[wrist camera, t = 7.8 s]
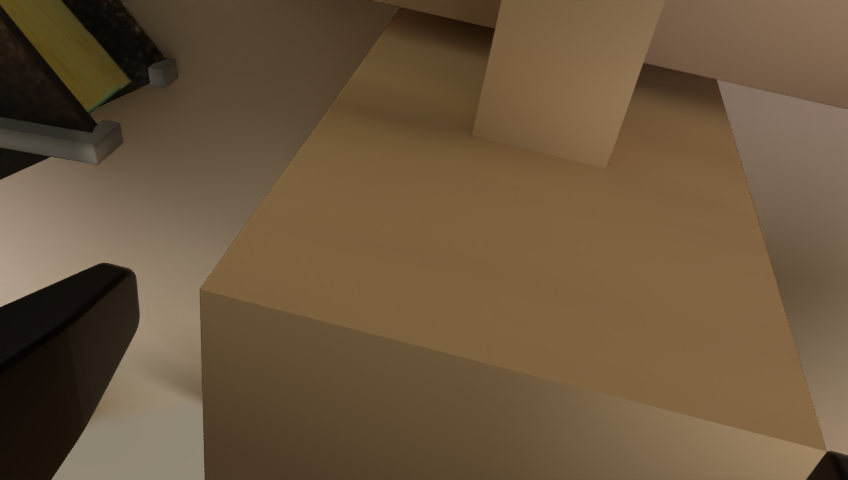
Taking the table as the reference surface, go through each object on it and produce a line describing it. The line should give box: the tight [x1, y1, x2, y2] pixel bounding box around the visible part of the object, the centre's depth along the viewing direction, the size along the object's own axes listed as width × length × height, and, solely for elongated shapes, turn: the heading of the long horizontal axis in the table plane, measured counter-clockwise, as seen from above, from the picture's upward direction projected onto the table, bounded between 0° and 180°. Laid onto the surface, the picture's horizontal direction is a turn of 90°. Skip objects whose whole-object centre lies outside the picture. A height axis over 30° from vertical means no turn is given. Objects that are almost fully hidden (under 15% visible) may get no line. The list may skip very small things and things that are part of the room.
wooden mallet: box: [200, 0, 827, 480], centre depth 9 cm, size 14×5×8 cm, turn 171°
